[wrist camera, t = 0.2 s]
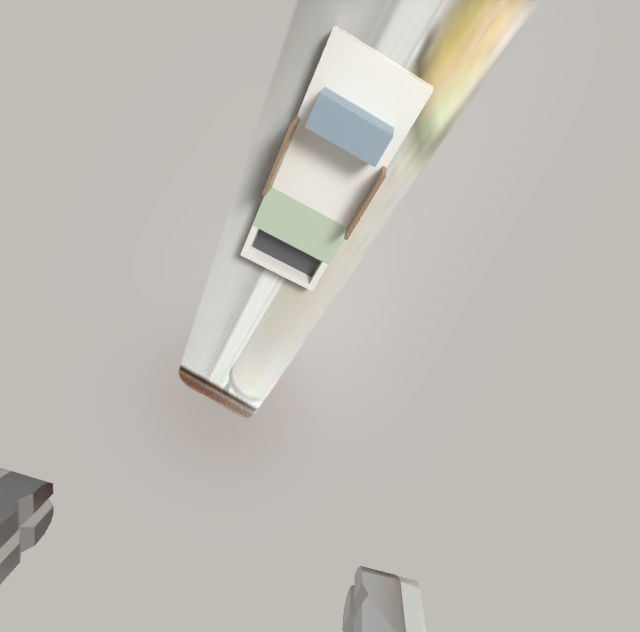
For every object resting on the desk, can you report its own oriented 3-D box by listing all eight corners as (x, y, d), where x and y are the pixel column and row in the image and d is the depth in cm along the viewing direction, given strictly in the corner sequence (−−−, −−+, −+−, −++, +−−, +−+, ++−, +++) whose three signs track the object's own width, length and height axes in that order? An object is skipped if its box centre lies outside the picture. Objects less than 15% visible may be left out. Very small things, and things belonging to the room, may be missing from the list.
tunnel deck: (336, 25, 45) (328, 28, 40) (432, 86, 47) (435, 95, 42) (245, 247, 65) (232, 266, 60) (314, 283, 67) (308, 303, 62)
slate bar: (325, 86, 46) (319, 92, 43) (394, 127, 48) (393, 136, 45) (311, 119, 49) (304, 127, 46) (377, 157, 50) (375, 167, 47)
